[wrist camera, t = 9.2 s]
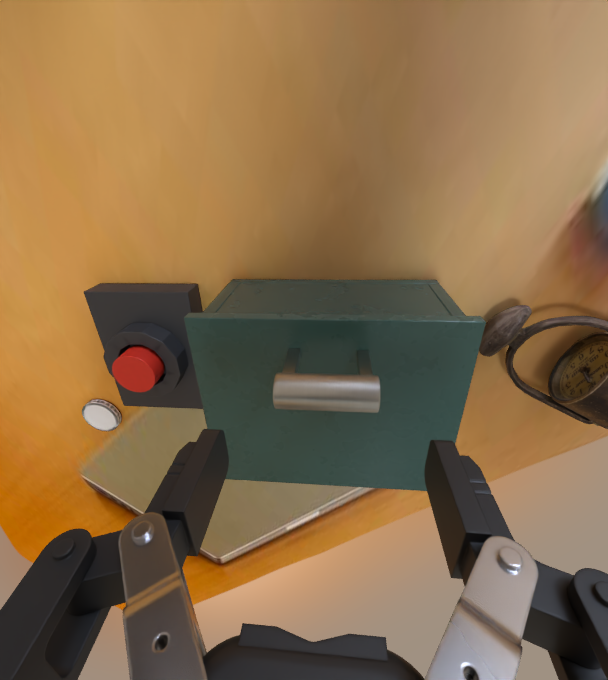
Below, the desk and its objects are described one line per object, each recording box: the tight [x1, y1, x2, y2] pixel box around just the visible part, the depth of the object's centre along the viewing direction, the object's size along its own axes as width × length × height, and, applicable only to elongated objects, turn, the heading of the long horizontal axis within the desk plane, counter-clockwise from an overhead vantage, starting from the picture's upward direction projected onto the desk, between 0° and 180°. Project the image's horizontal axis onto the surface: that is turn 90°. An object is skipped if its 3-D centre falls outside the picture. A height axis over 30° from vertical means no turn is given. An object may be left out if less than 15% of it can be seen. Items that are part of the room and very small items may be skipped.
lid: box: [184, 313, 486, 491], centre depth 20 cm, size 14×17×5 cm
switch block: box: [84, 284, 203, 409], centre depth 30 cm, size 12×9×4 cm
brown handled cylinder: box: [479, 305, 608, 429], centre depth 25 cm, size 7×13×10 cm
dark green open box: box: [202, 279, 466, 316], centre depth 27 cm, size 13×17×9 cm
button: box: [112, 346, 164, 392], centre depth 28 cm, size 4×4×2 cm
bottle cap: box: [82, 399, 121, 431], centre depth 37 cm, size 4×4×1 cm
